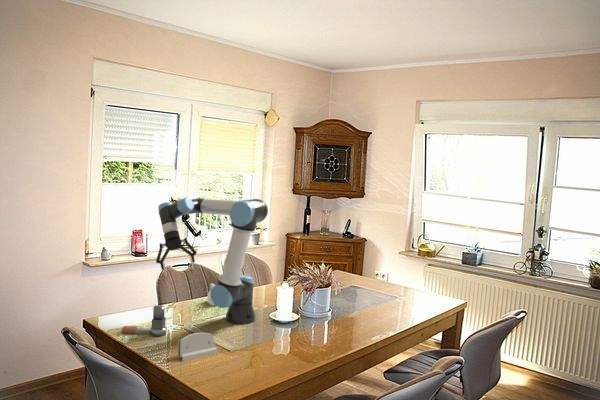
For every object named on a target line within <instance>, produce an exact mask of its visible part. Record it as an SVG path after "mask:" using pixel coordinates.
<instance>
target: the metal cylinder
mask: <svg viewBox="0 0 600 400" xmlns="http://www.w3.org/2000/svg"><path fill="white" fill-rule="evenodd" d="M152 308H153V309H152V310H153V312H152V313H153V315H152V319H151V327H152V329H154V330H163V329H164V327H166V316H165V305H160V304H158V305H154V306H153V307H152Z"/></svg>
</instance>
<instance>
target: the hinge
mask: <svg viewBox="0 0 600 400" xmlns="http://www.w3.org/2000/svg"><path fill="white" fill-rule="evenodd" d="M218 353H219V352H218V348H217V347H216V343H215V340H214V335H213V334H212V333H208V332H195V333H190V334H187V335H185V336H183V337H182V338H179V339H178V341H177V358H182V361H183V362H185V361H190V360H193V359H199V358H202V357H203V358H204V357H207V356H213V355H216V354H218Z"/></svg>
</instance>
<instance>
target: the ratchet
mask: <svg viewBox="0 0 600 400" xmlns="http://www.w3.org/2000/svg"><path fill="white" fill-rule="evenodd" d="M121 334H122V335H123V334H124V335H125V334H126V335H147V336H149V335H150V336H151V337H154V338H159V337H160V338H161V337H165V336H166V335H167V327H166V326H165V327H164V329H163V330H154V329H152V326H151V327H150V328H149V327H148V328H147V327H138V326H135V325H134V326H133V325H132V326H131V325H124V326H122V327H121Z"/></svg>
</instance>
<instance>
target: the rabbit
mask: <svg viewBox="0 0 600 400" xmlns="http://www.w3.org/2000/svg"><path fill="white" fill-rule="evenodd" d="M215 285H216V284H214V283H212V282H211V283H209V286H210V290H209V291H208V293H207V297H206V298H207V302H208V304H209V305H211V306H216V305H215V304H214V303H213V301H212V299H211V296H210V292H211V289H212V288H213V287H214V286H215Z"/></svg>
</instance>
